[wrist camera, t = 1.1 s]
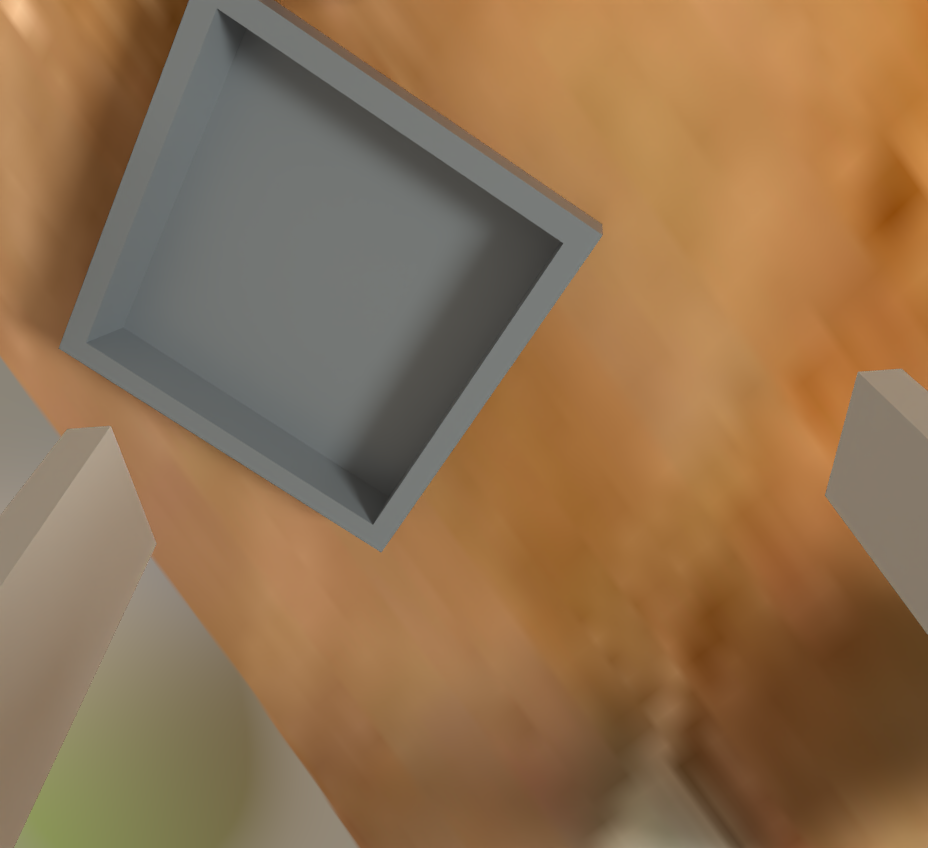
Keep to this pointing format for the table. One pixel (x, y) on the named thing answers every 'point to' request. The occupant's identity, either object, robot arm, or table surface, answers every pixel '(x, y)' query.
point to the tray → (317, 265)
